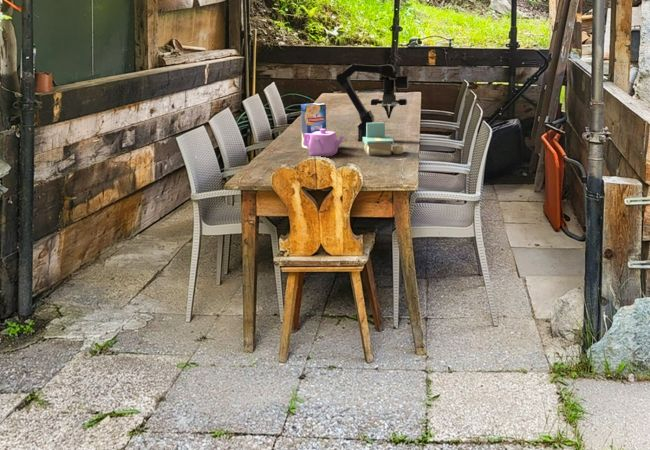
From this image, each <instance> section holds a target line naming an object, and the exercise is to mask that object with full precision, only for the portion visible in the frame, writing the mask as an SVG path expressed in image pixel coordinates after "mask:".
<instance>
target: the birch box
mask: <svg viewBox="0 0 650 450" xmlns="http://www.w3.org/2000/svg"><path fill="white" fill-rule="evenodd" d="M363 143H364V142H363ZM363 146H364V147H363V148H364V149H363V150H364V152H365V153H366V155H368V157H369V156H370V157H371V156H372V155H373V156H392V144H391V142H385V143H369V146H367V145H366V144H365V143H364V144H363Z"/></svg>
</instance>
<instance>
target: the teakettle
mask: <svg viewBox="0 0 650 450" xmlns="http://www.w3.org/2000/svg"><path fill="white" fill-rule="evenodd" d="M309 137H310V139H309ZM345 137H346V136H345V135H340V136H339V138H338V137H337V133H336V131H329V130H328V131H327V128H326V129H320V131H316V132H314V133H312V134H304V144H303V145H305V146H306V147H308V154H309V156H313V157H332V156H334V155H336V154H337V153H338V150H339V146H341V144H342V142H343V141H344V139H345ZM337 138H338V139H337Z"/></svg>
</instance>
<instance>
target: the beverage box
mask: <svg viewBox="0 0 650 450" xmlns="http://www.w3.org/2000/svg"><path fill="white" fill-rule="evenodd" d="M300 118H301V119H300V121H301V122H300V123H301V128H300V129H301V147H302V148H305V149H308V147H306V146H305V145H303V144H304V134H312V133H314V132H316V131H320V129H326V130H327V104H326V103H322V102H316V103H315V102H314V103H301V104H300ZM309 139H310V137H309Z"/></svg>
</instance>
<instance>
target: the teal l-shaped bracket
mask: <svg viewBox="0 0 650 450" xmlns="http://www.w3.org/2000/svg"><path fill="white" fill-rule="evenodd" d="M362 142H363V143H365V144H366V145H367V146H369V143H385V142H391V146H393V145H394V143H395V142H394V139H392V138H391V137H390V136H388V135H386V122H385V121H384V122H383V121H381V122H374V123H366V137H363V141H362Z"/></svg>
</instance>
